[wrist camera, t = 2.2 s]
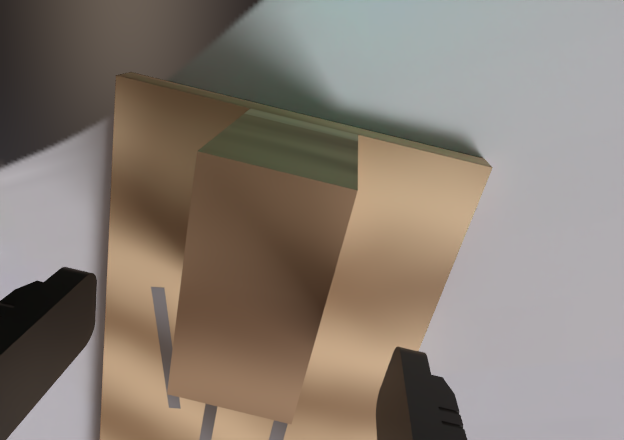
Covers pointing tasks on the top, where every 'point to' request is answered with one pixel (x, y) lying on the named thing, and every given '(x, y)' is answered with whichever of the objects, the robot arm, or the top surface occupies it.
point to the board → (344, 288)
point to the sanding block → (260, 261)
